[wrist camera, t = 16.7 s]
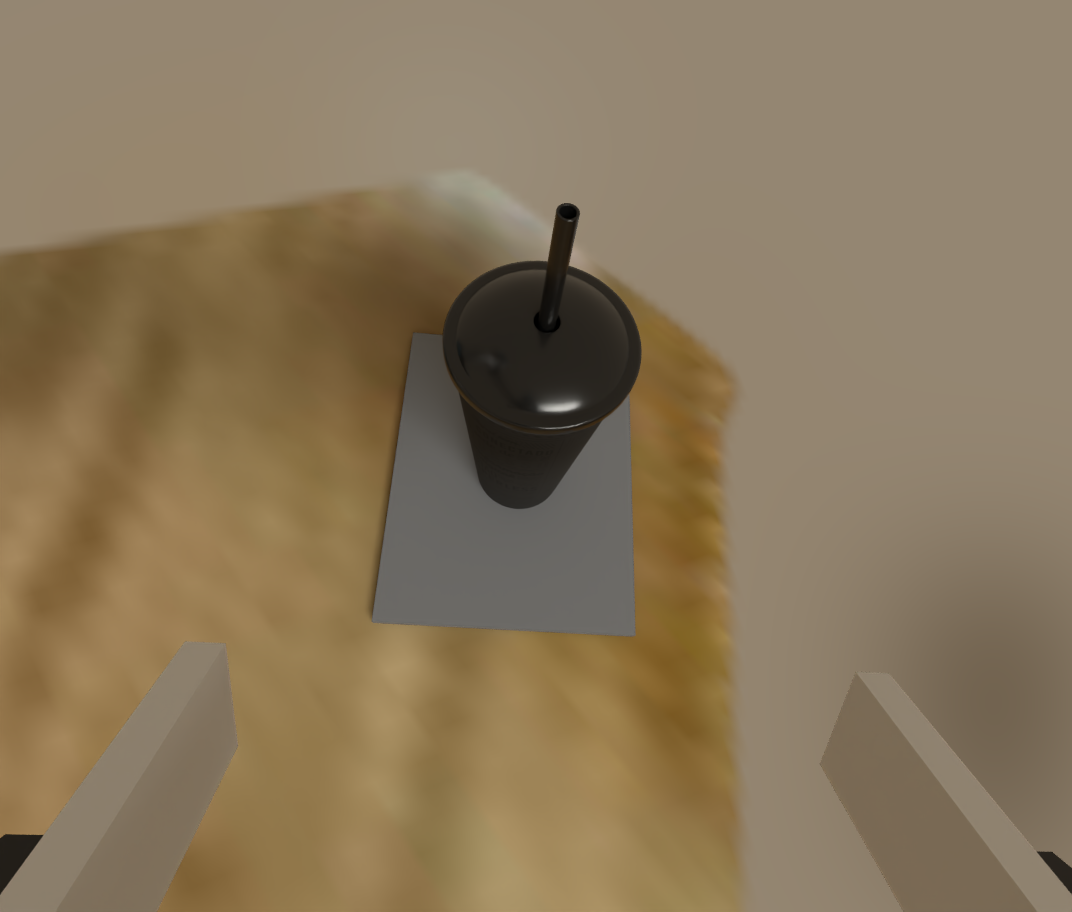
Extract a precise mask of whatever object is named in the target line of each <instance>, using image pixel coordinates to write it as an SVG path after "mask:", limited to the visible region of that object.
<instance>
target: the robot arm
mask: <svg viewBox="0 0 1072 912" xmlns="http://www.w3.org/2000/svg"><path fill="white" fill-rule="evenodd" d="M237 747H238V742H237V734H236V725H235V717H234V709H233V700H232V692H231V684H230V676H229V667H228V659H227V651H226V643H207V642H184V644H183V645H182V646H181V648H180V649H179V651H178V652H177V653H176V655H175V656H174V657H173V659H172V660H171V662H170V663H169V664H168V666H167V667H166V668H165V670H164V671H163V672H162V674H161V675H160V677H159V678H158V679H157V681H156V682H155V683H154V685H153V686H152V688H151V689H150V690H149V692H148V693H147V694H146V696H145V697H144V699H143V700H142V701H141V703H140V704H139V705H138V707H137V708H136V709H135V711H134V712H133V714H132V715H131V716H130V718H129V719H128V720H127V722H126V723H125V725H124V726H123V727H122V729H121V730H120V731H119V733H118V734H117V736H116V737H115V738H114V740H113V741H112V742H111V744H110V745H109V746H108V748H107V749H106V751H105V752H104V753H103V755H102V756H101V757H100V759H99V760H98V762H97V763H96V764H95V766H94V767H93V768H92V770H91V771H90V772H89V774H88V775H87V777H86V778H85V779H84V781H83V782H82V783H81V785H80V786H79V788H78V789H77V790H76V792H75V793H74V794H73V796H72V797H71V799H70V800H69V801H68V803H67V804H66V805H65V807H64V808H63V809H62V811H61V812H60V814H59V815H58V816H57V818H56V819H55V820H54V822H53V823H52V825H51V826H50V827H49V829H48V830H47V831H46V833H45V834H44V835H11V834H5V835H4V836H3V837H1V838H0V912H157V910H158V908H159V906H160V904H161V902H162V900H163V898H164V896H165V894H166V892H167V890H168V888H169V886H170V883H171V881H172V879H173V877H174V875H175V873H176V871H177V869H178V867H179V865H180V863H181V861H182V859H183V857H184V855H185V853H186V851H187V849H188V847H189V845H190V843H191V841H192V839H193V837H194V835H195V833H196V831H197V828H198V826H199V824H200V822H201V820H202V818H203V816H204V814H205V812H206V810H207V808H208V806H209V804H210V802H211V800H212V798H213V796H214V794H215V792H216V790H217V788H218V786H219V784H220V782H221V780H222V778H223V775H224V773H225V771H226V769H227V767H228V765H229V763H230V761H231V759H232V757H233V755H234V753H235V751H236V749H237ZM820 765H821V767H822V768H823V771H824V772H825V774H826V776H827V778H828V779H829V781H830V783H831V785H832V786H833V788H834V790H835V792H836V793H837V795H838V797H839V799H840V801H841V802H842V804H843V806H844V808H845V809H846V811H847V813H848V815H849V816H850V818H851V820H852V822H853V823H854V825H855V827H856V829H857V831H858V832H859V834H860V836H861V838H862V839H863V841H864V843H865V845H866V846H867V848H868V850H869V852H870V853H871V855H872V857H873V859H874V860H875V862H876V864H877V866H878V867H879V869H880V871H881V873H882V875H883V876H884V878H885V880H886V881H887V883H888V885H889V887H890V888H891V890H892V892H893V894H894V896H895V898H896V899H897V901H898V903H899V905H900V906H901V908H902V910H903V912H1072V868H1071V867H1070V866H1068V865H1067V864H1066V863H1065V862H1063V861H1062V860H1061V859H1060V858H1059V857H1057V856H1056V855H1055V854H1054V853H1053V852H1036V851H1035V849H1034V848H1033V847H1032V846H1031V845H1030V843H1029V842H1028V841H1027V840H1026V839H1025V837H1024V836H1023V835H1022V834H1021V832H1020V831H1019V830H1018V829H1017V828H1016V826H1015V825H1014V824H1013V823H1012V822H1011V820H1010V819H1009V818H1008V817H1007V816H1006V814H1005V813H1004V812H1003V811H1002V810H1001V808H1000V807H999V806H998V805H997V803H996V802H995V801H994V800H993V799H992V797H991V796H990V795H989V794H988V793H987V791H986V790H985V789H984V788H983V786H982V785H981V784H980V783H979V782H978V780H977V779H976V778H975V777H974V776H973V774H972V773H971V772H970V771H969V770H968V768H967V767H966V766H965V765H964V763H963V762H962V761H961V760H960V759H959V758H958V756H957V755H956V754H955V753H954V751H953V750H952V749H951V748H950V746H949V745H948V744H947V743H946V742H945V740H944V739H943V738H942V737H941V736H940V734H939V733H938V732H937V731H936V730H935V728H934V727H933V726H932V725H931V724H930V722H929V721H928V720H927V719H926V718H925V716H924V715H923V714H922V713H921V711H920V710H919V709H918V708H917V707H916V705H915V704H914V703H913V702H912V701H911V699H910V698H909V697H908V696H907V694H906V693H905V692H904V691H903V690H902V688H901V687H900V686H899V685H898V684H897V682H896V681H895V680H894V679H893V678H892V676H891V675H890V674H889V673H870V672H855V675H854V677H853V680H852V683H851V685H850V688H849V690H848V693H847V695H846V698H845V701H844V703H843V706H842V708H841V711H840V713H839V716H838V719H837V721H836V724H835V726H834V729H833V731H832V734H831V737H830V739H829V742H828V744H827V747H826V750H825V752H824V755H823V757H822V760H821V763H820Z"/></svg>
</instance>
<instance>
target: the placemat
mask: <svg viewBox="0 0 1072 912" xmlns="http://www.w3.org/2000/svg"><path fill="white" fill-rule="evenodd" d="M442 338H443V335H436V334H425V333H414V332H413V338H412V345H411V352H410V359H409V366H408V373H407V380H406V387H405V394H404V401H403V408H402V415H401V422H400V428H399V435H398V442H397V449H396V456H395V463H394V470H393V477H392V484H391V491H390V498H389V505H388V512H387V519H386V526H385V533H384V540H383V547H382V554H381V561H380V568H379V574H378V581H377V588H376V595H375V602H374V609H373V616H372V622H373V623H387V624H406V625H425V626H444V627H463V628H482V629H500V630H519V631H538V632H557V633H576V634H595V635H614V636H635V601H634V561H633V522H632V482H631V443H630V403H629V394H628V396H627V397H626V399H625V400H624V401H623V403H622V404H621V405H620V406H619V407H618V408H617V409H616V410H615V411H614V412H613V413H612V414H610V415H609V416H608V417H606V418H605V419H603V420H602V422H601V423H600V425H599V426H598V428H597V429H596V431H595V432H594V433H593V435H592V436H591V438H590V439H589V441H588V442H587V444H586V445H585V446H584V448H583V449H582V451H581V452H580V454H579V455H578V457H577V458H576V459H575V461H574V462H573V464H572V465H571V467H570V468H569V470H568V471H567V472H566V474H565V475H564V477H563V478H562V480H561V481H560V483H559V484H558V485H557V487H556V488H555V490H554V491H553V493H552V494H551V495H550V496H549V497H548V498H547V499H546V500H545V501H544V502H542V503H540V504H539V505H536V506H534V507H531V508H526V509H513V508H508V507H505V506H502V505H500V504H498V503H496V502H495V501H493V500H492V499H491V498H490V497H489V496H488V495H487V494H486V493H485V491H484V490H483V488H482V486H481V484H480V482H479V478H478V474H477V469H476V465H475V461H474V456H473V452H472V448H471V443H470V439H469V435H468V430H467V426H466V422H465V417H464V413H463V409H462V404H461V400H460V396H459V392H458V390H457V389H456V387H455V386H454V384H453V382H452V380H451V378H450V376H449V373H448V371H447V368H446V365H445V361H444V355H443V344H442Z"/></svg>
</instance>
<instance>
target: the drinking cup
mask: <svg viewBox="0 0 1072 912" xmlns="http://www.w3.org/2000/svg"><path fill="white" fill-rule="evenodd" d="M579 215H580V211H579V209H578V208H577V207H576V206H575V205H573V204H570V203H564V204H561V205H559V206H558V208H557V210H556V215H555V221H554V227H553V233H552V239H551V245H550V251H549V257H548V262H547V261H525V262H517V263H511V264H508V265H504V266H501V267H498V268H495V269H493V270H491V271H488V272H486V273H485V274H483V275H481V276H480V277H478V278H477V279H475V280H474V281H472V282H471V283H470V284H469V285H468V286H467V287H466V288H465V289H464V290H463V291H462V292H461V293H460V294H459V296H458V297H457V298H456V300H455V301H454V303H453V304H452V306H451V308H450V310H449V312H448V314H447V317H446V320H445V324H444V329H443V338H442V344H443V355H444V361H445V365H446V368H447V371H448V373H449V376H450V378H451V380H452V382H453V384H454V386H455V387H456V389H457V390H458V392H459V396H460V400H461V404H462V409H463V413H464V417H465V422H466V426H467V430H468V435H469V439H470V443H471V448H472V452H473V456H474V461H475V465H476V469H477V474H478V478H479V482H480V484H481V486H482V488H483V490H484V491H485V493H486V494H487V495H488V496H489V497H490V498H491V499H492V500H493V501H495V502H496V503H498V504H500V505H502V506H505V507H508V508H513V509H526V508H531V507H534V506H536V505H539V504H540V503H542V502H544V501H545V500H546V499H547V498H548V497H549V496H550V495H551V494H552V493H553V491H554V490H555V488H556V487H557V485H558V484H559V483H560V481H561V480H562V478H563V477H564V475H565V474H566V472H567V471H568V470H569V468H570V467H571V465H572V464H573V462H574V461H575V459H576V458H577V457H578V455H579V454H580V452H581V451H582V449H583V448H584V446H585V445H586V444H587V442H588V441H589V439H590V438H591V436H592V435H593V433H594V432H595V431H596V429H597V428H598V426H599V425H600V423H601V422H602V420H603V419H605V418H606V417H608V416H609V415H610V414H612V413H613V412H614V411H615V410H616V409H617V408H618V407H619V406H620V405H621V404H622V403H623V401H624V400H625V399H626V397H627V396H628V394H629V393H630V391H631V389H632V387H633V385H634V383H635V381H636V378H637V376H638V373H639V369H640V364H641V341H640V336H639V332H638V329H637V326H636V323H635V321H634V318H633V316H632V315H631V313H630V311H629V309H628V308H627V306H626V305H625V304H624V302H623V301H622V300H621V299H620V297H619V296H618V295H617V294H616V293H615V292H614V291H613V290H612V289H610V288H609V287H608V286H607V285H606V284H604V283H603V282H601V281H600V280H599V279H597V278H595V277H594V276H592V275H590V274H588V273H586V272H584V271H582V270H579V269H577V268H574V267H571V266H569V262H570V257H571V253H572V248H573V243H574V239H575V234H576V229H577V225H578V220H579Z"/></svg>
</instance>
